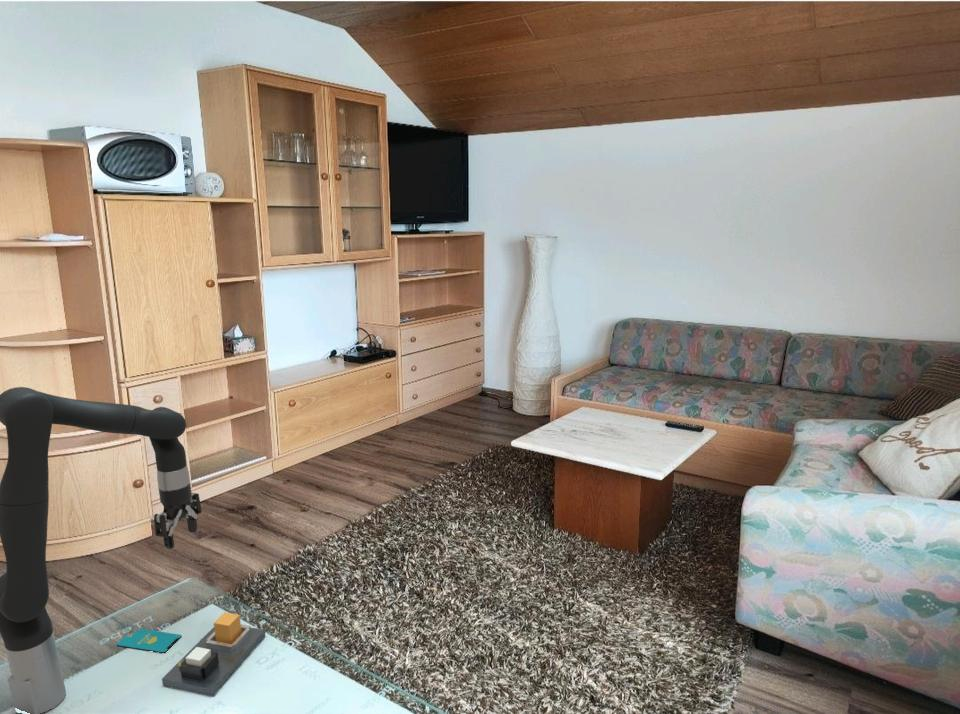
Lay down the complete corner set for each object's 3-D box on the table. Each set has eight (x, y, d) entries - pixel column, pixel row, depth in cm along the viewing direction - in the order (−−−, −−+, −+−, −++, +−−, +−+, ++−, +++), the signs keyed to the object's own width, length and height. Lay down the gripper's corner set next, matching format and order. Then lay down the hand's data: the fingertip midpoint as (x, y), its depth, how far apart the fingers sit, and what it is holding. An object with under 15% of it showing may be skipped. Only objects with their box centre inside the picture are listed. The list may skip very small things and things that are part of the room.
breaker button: (201, 674, 159) (199, 660, 158) (187, 671, 160) (185, 657, 159) (212, 663, 163) (210, 649, 162) (198, 660, 164) (196, 646, 163)
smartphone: (134, 627, 180) (182, 634, 177) (134, 629, 181) (183, 636, 177) (114, 645, 174) (164, 652, 170) (115, 647, 174) (165, 655, 171)
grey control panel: (213, 696, 156) (210, 678, 155) (162, 685, 160) (160, 668, 158) (265, 636, 177) (263, 620, 175) (219, 628, 180) (217, 612, 179)
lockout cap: (231, 645, 170) (228, 625, 169) (216, 643, 171) (213, 623, 170) (241, 634, 174) (239, 614, 173) (227, 632, 175) (224, 612, 174)
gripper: (181, 470, 179) (188, 524, 183) (141, 493, 166) (149, 551, 170) (204, 473, 177) (211, 528, 181) (166, 496, 164) (174, 555, 168)
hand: (181, 539), depth 175 cm, fingers open, 8 cm apart
